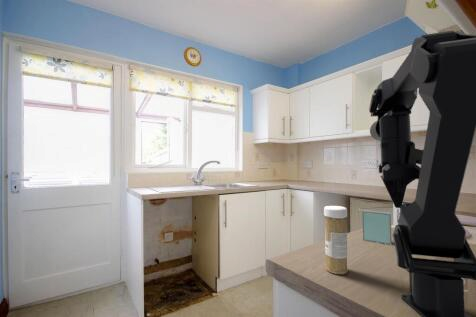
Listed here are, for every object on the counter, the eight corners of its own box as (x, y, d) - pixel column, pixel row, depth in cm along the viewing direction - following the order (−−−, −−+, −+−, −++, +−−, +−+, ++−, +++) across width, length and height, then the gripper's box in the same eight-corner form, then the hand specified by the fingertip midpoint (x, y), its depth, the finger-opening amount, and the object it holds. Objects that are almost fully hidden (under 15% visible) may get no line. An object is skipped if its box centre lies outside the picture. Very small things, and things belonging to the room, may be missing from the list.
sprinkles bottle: (324, 264, 52) (323, 204, 52) (346, 267, 51) (345, 205, 51) (326, 274, 48) (324, 208, 48) (350, 276, 46) (349, 209, 47)
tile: (391, 244, 64) (390, 214, 64) (363, 240, 68) (362, 211, 68) (391, 242, 66) (390, 212, 67) (363, 238, 70) (363, 209, 70)
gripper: (457, 131, 40) (461, 221, 40) (430, 137, 56) (433, 201, 56) (381, 136, 45) (385, 216, 45) (377, 141, 62) (379, 199, 62)
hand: (398, 207), depth 52 cm, fingers closed
